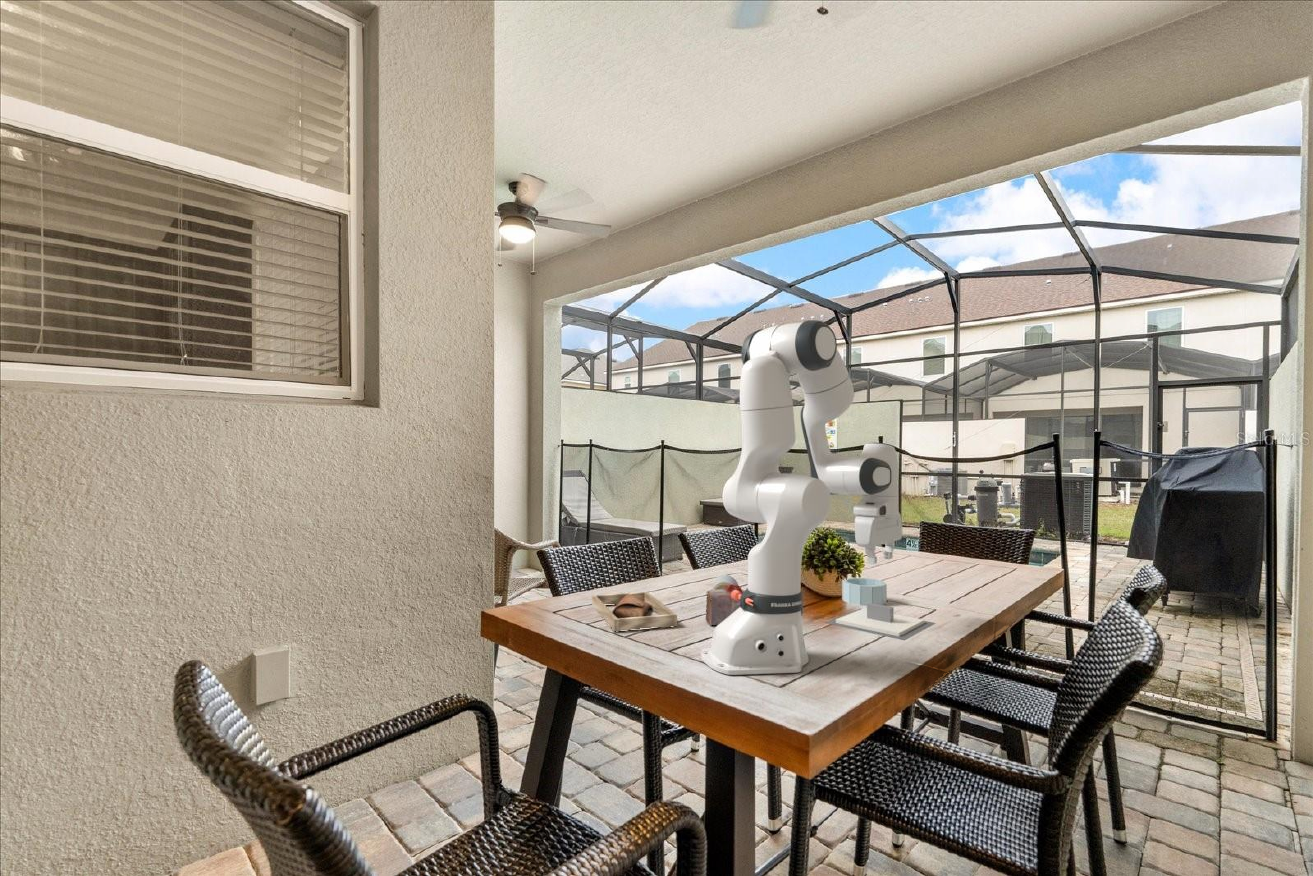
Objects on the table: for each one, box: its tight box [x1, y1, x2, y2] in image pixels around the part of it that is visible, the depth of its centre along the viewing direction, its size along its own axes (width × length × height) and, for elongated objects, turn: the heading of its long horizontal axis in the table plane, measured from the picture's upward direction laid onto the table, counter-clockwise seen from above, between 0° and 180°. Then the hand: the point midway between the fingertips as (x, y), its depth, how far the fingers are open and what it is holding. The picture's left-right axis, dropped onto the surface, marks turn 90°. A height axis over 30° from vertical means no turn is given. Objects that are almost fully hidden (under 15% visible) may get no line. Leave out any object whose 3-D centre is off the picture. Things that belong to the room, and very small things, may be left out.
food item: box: [705, 584, 746, 627], centre depth 152 cm, size 14×8×10 cm, turn 95°
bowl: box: [841, 577, 888, 607], centre depth 175 cm, size 12×12×6 cm
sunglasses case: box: [611, 592, 651, 618], centre depth 158 cm, size 18×7×7 cm
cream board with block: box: [836, 603, 926, 636], centre depth 151 cm, size 16×16×4 cm
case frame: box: [591, 591, 678, 631], centre depth 158 cm, size 16×26×3 cm, turn 18°
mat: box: [824, 608, 936, 641], centre depth 151 cm, size 20×20×1 cm
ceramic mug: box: [711, 574, 739, 590], centre depth 172 cm, size 11×8×8 cm
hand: (880, 561), depth 152 cm, fingers open, 8 cm apart
